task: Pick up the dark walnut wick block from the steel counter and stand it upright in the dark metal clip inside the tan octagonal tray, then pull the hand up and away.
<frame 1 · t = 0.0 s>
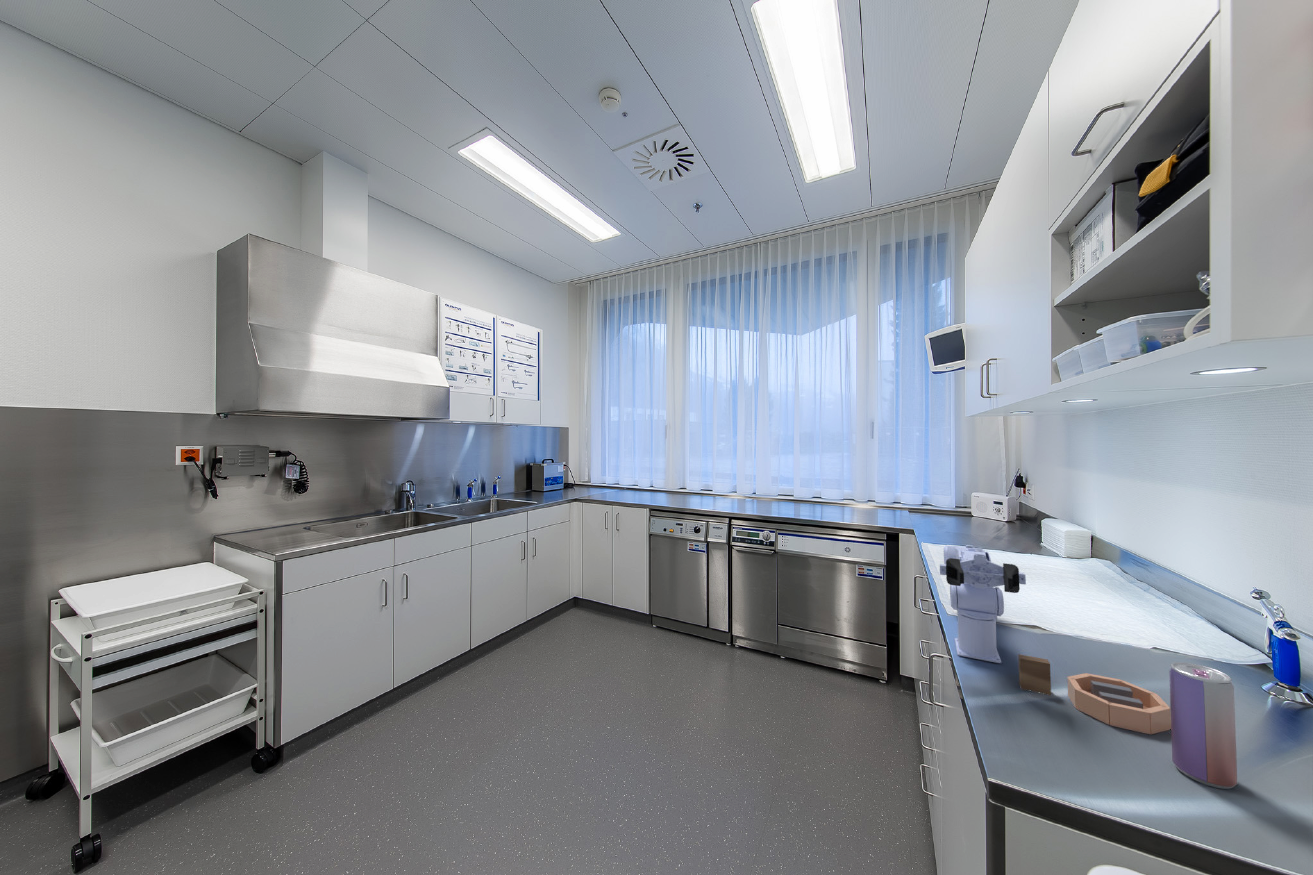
hand: (985, 580, 86), 22 cm above the worktop, tool horizontal, fingers open, 7 cm apart
tan octagonal tray: (1116, 711, 80), on the worktop
beverage can: (1203, 776, 64), on the worktop
wooden wick: (1034, 689, 87), on the worktop
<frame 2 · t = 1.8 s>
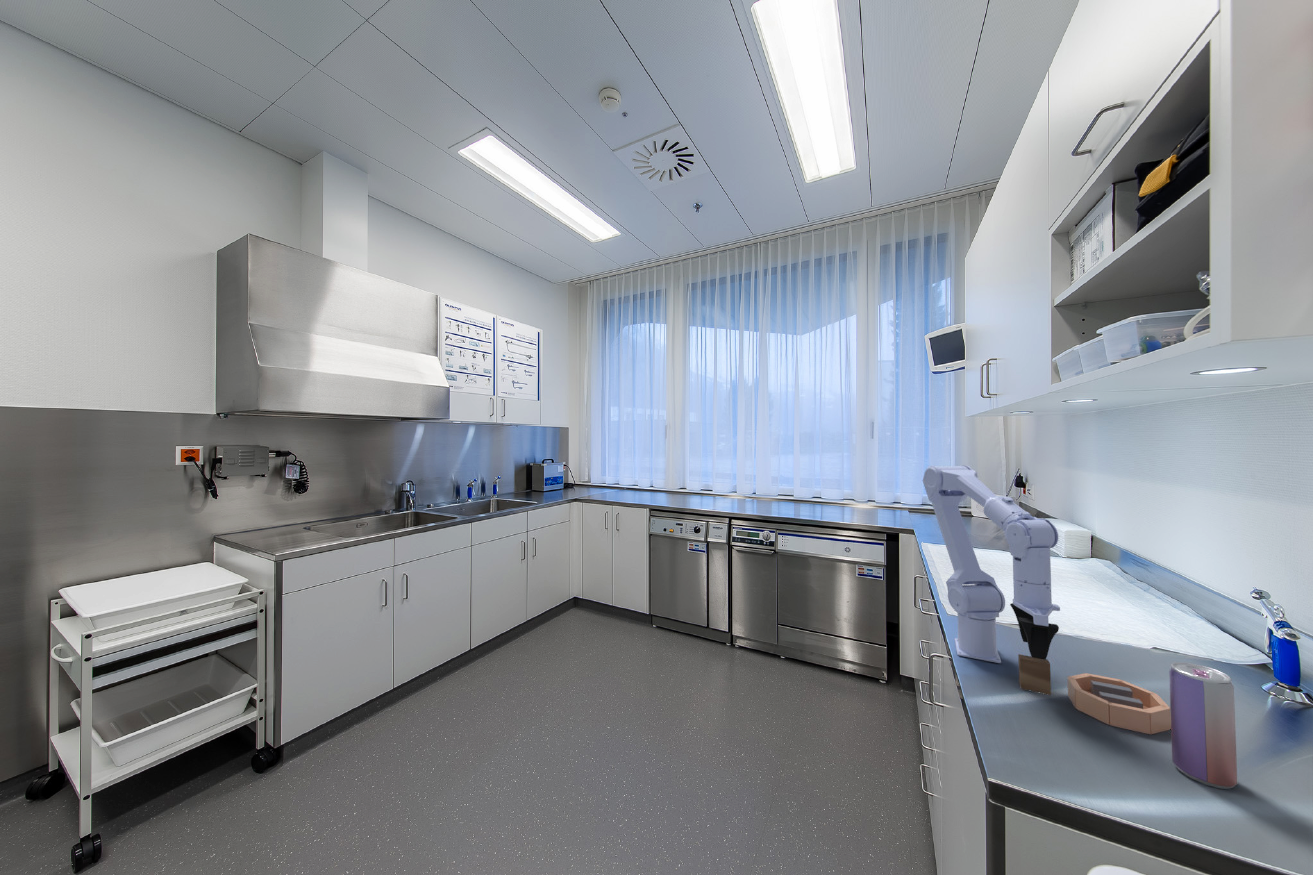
hand: (1033, 649, 87), 8 cm above the worktop, tool pointing down, fingers open, 7 cm apart
nothing on the worktop moved.
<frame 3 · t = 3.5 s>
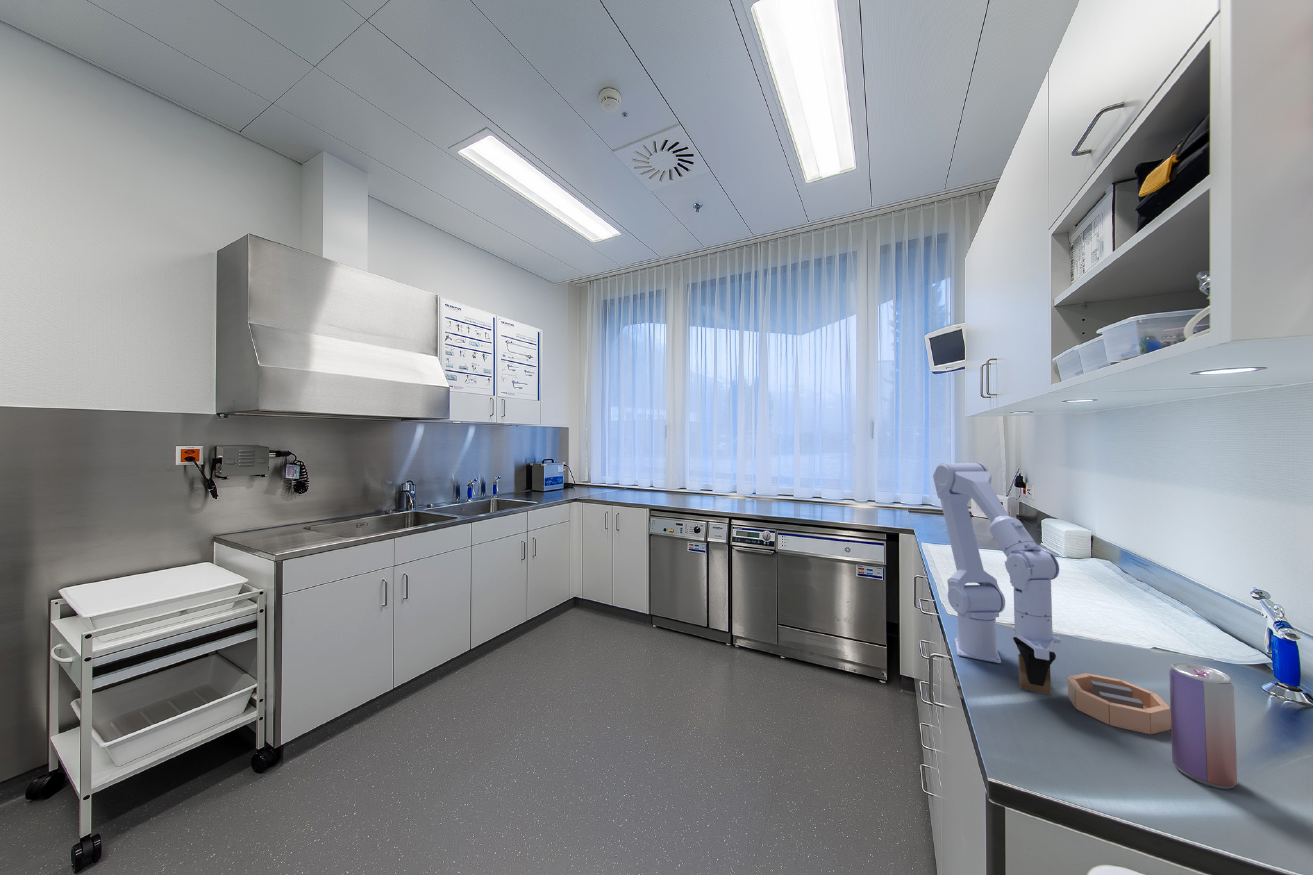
hand: (1034, 681, 87), 2 cm above the worktop, tool pointing down, fingers closed on wooden wick, 2 cm apart
wooden wick: (1034, 689, 87), on the worktop, touching gripper
everything else where it was.
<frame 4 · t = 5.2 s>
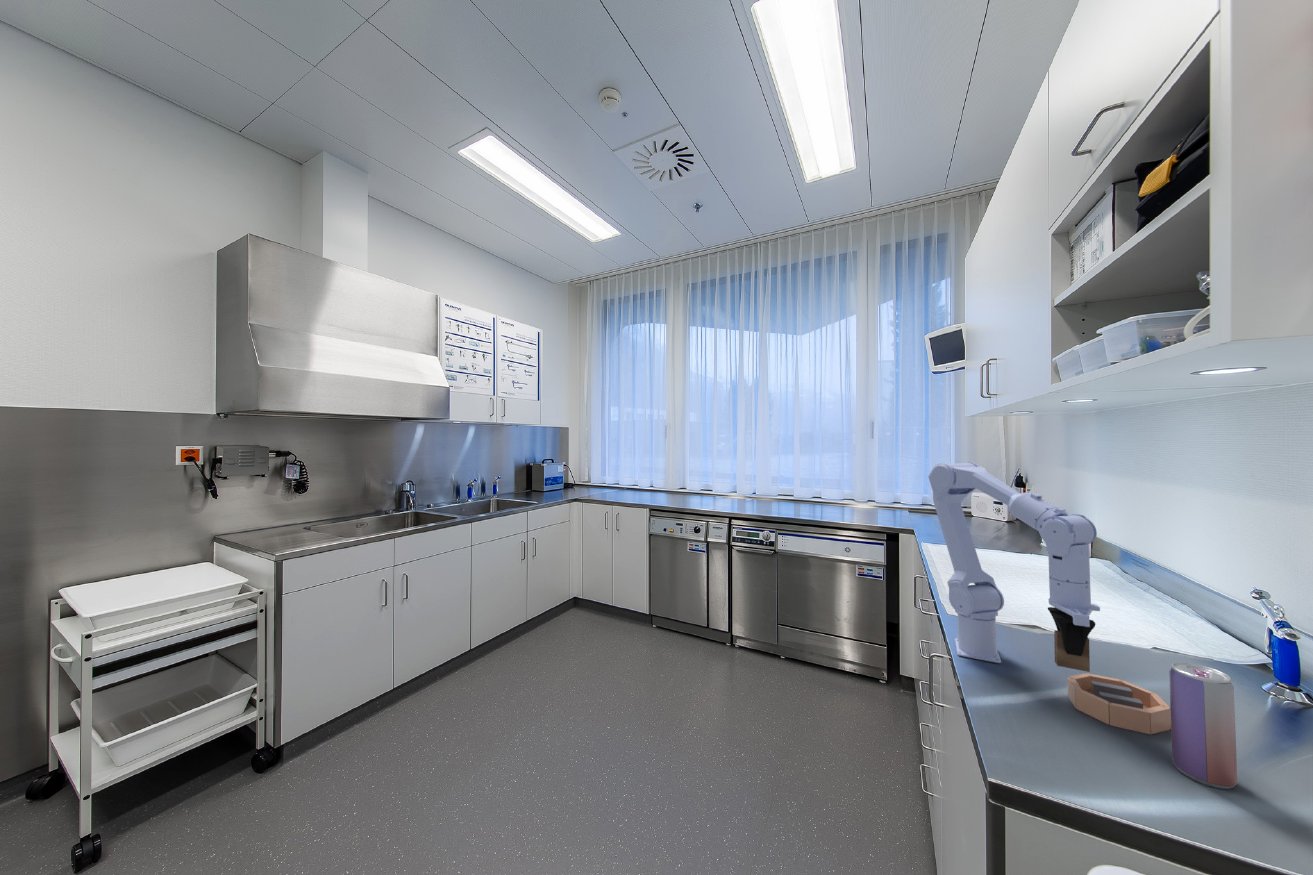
hand: (1071, 651, 84), 9 cm above the worktop, tool pointing down, fingers closed on wooden wick
wooden wick: (1071, 666, 84), point 6 cm above the worktop, touching gripper
everything else where it was.
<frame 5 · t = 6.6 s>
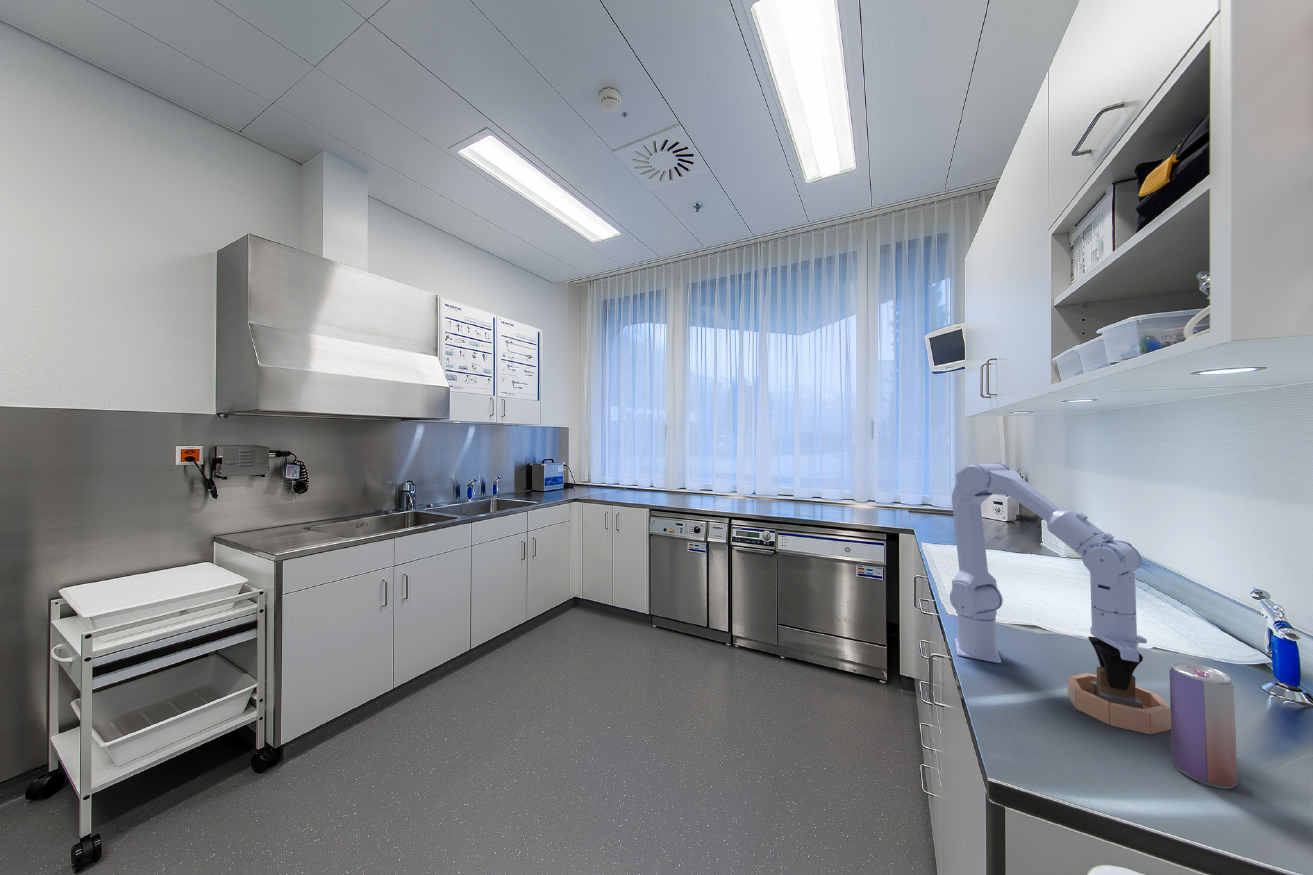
hand: (1115, 684, 80), 5 cm above the worktop, tool pointing down, fingers closed on wooden wick, 2 cm apart
wooden wick: (1115, 705, 80), point 1 cm above the worktop, touching gripper, tan octagonal tray
everything else where it was.
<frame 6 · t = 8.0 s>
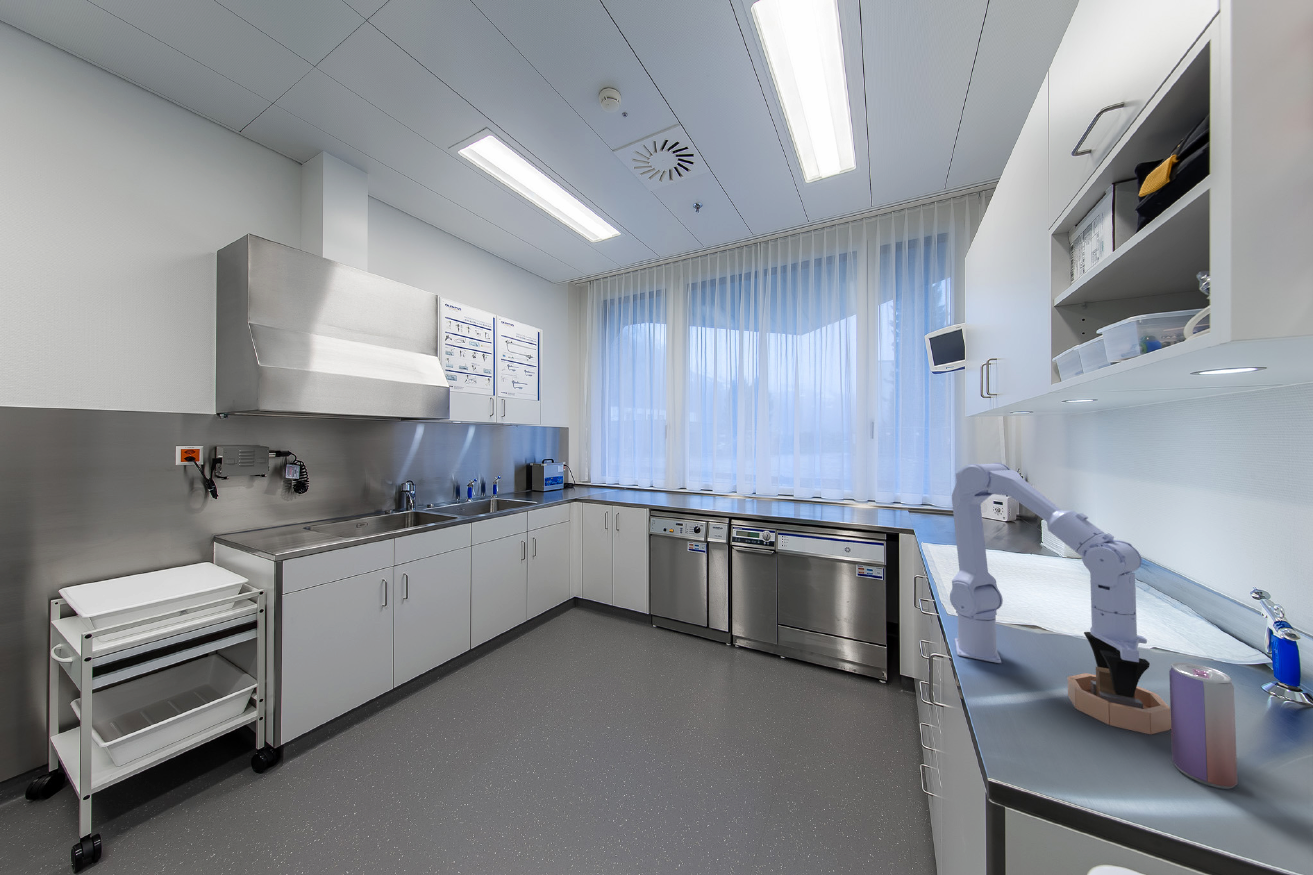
hand: (1115, 684, 80), 5 cm above the worktop, tool pointing down, fingers open, 7 cm apart
wooden wick: (1115, 705, 80), point 1 cm above the worktop, touching tan octagonal tray
everything else where it was.
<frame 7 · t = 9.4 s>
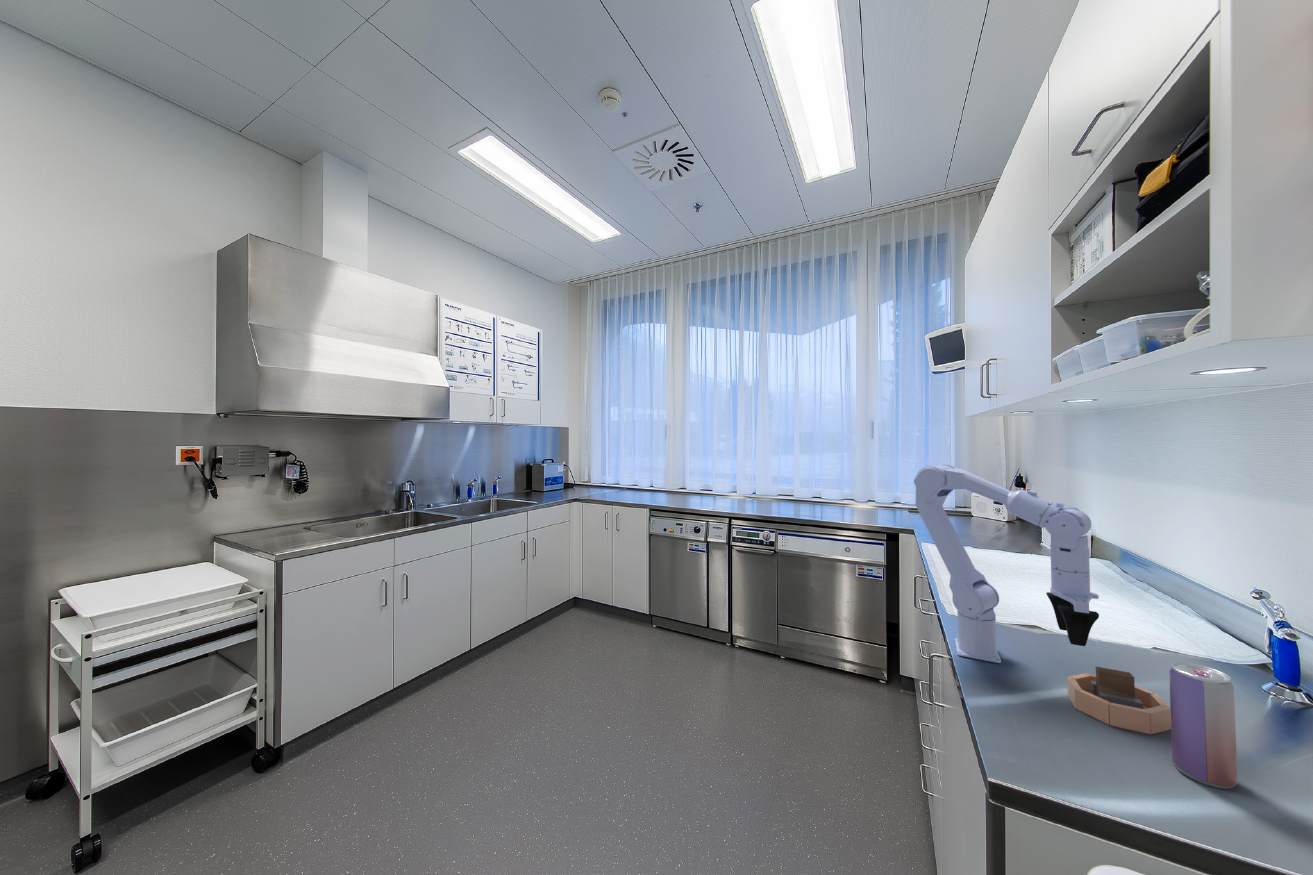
hand: (1071, 637, 89), 9 cm above the worktop, tool pointing down, fingers open, 7 cm apart
nothing on the worktop moved.
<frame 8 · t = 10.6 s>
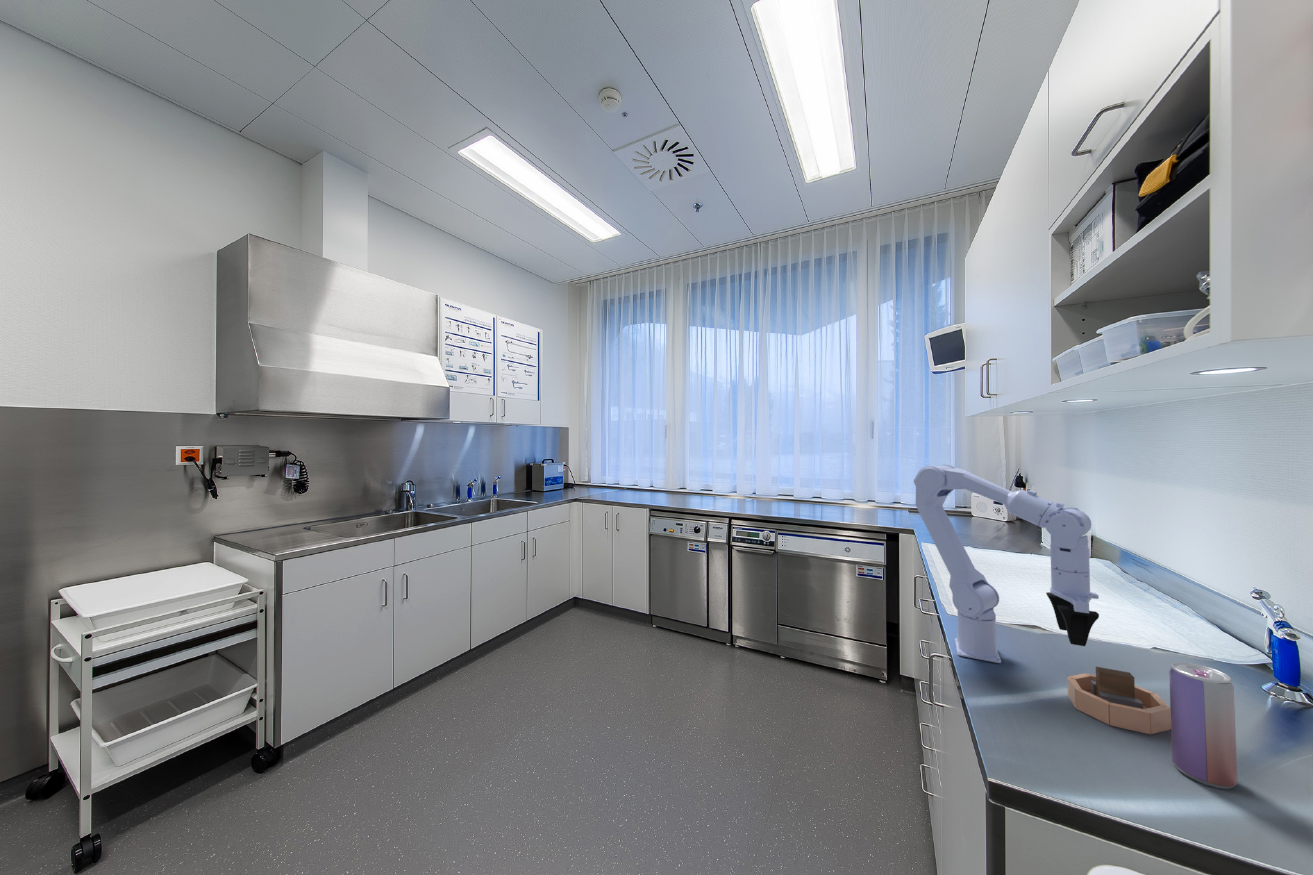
hand: (1071, 637, 89), 9 cm above the worktop, tool pointing down, fingers open, 7 cm apart
nothing on the worktop moved.
at the end: wooden wick 0.1 cm off-centre on the tan octagonal tray, point 1.0 cm above the tan octagonal tray's base; wooden wick tilted 0°; the gripper is holding nothing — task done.
